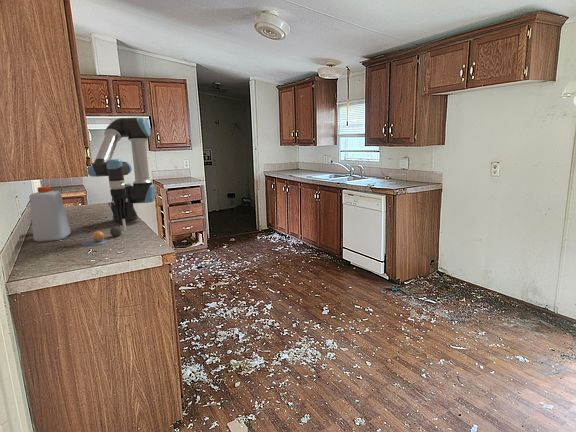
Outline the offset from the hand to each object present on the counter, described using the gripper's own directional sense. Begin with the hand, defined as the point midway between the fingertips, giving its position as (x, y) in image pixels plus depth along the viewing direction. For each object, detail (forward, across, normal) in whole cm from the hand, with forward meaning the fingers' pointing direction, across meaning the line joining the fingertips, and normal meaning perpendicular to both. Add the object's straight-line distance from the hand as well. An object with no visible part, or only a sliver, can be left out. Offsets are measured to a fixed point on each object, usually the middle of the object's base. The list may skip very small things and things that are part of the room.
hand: (123, 230), depth 200 cm
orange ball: (-1, -16, 0) cm, 16 cm away
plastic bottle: (+2, -18, +33) cm, 37 cm away
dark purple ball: (-1, -6, 0) cm, 6 cm away
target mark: (+2, -18, 0) cm, 19 cm away
